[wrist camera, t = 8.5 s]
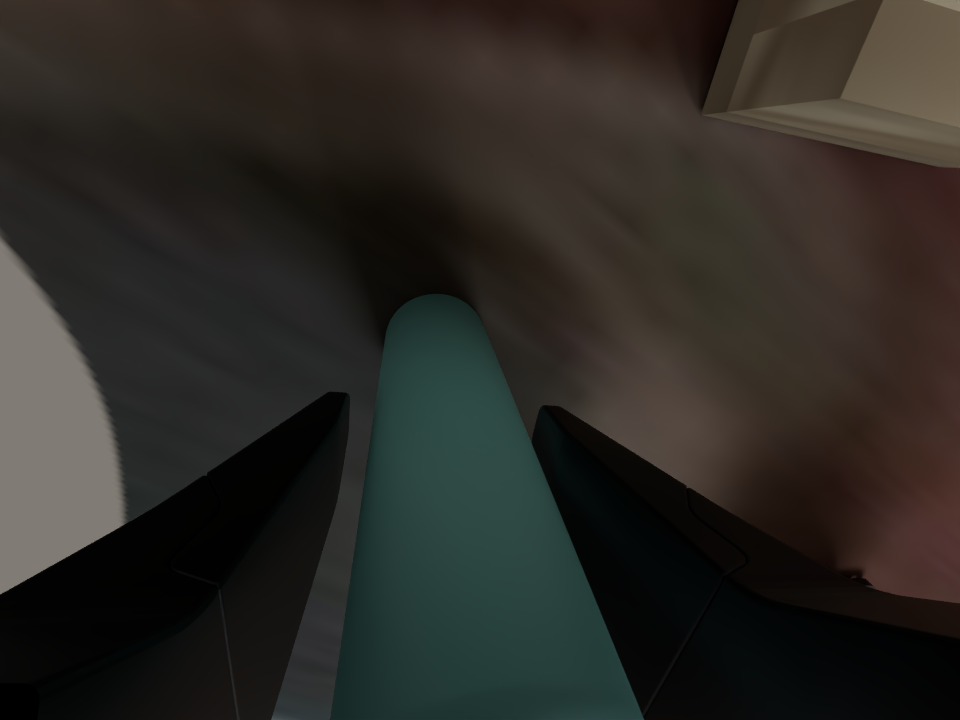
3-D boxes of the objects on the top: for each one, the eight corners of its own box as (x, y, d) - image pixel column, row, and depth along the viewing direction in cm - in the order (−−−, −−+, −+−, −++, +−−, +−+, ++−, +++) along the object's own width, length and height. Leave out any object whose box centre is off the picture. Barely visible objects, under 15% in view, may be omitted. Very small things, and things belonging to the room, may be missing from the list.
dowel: (477, 388, 14) (598, 830, 5) (382, 382, 13) (318, 870, 4) (493, 299, 12) (695, 671, 4) (388, 288, 12) (318, 700, 3)
